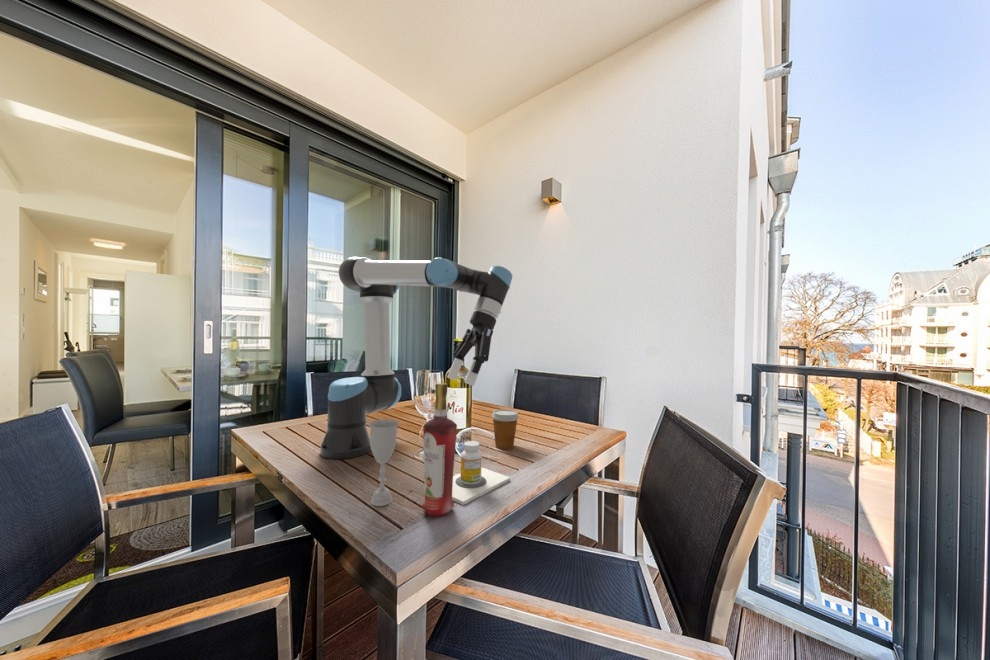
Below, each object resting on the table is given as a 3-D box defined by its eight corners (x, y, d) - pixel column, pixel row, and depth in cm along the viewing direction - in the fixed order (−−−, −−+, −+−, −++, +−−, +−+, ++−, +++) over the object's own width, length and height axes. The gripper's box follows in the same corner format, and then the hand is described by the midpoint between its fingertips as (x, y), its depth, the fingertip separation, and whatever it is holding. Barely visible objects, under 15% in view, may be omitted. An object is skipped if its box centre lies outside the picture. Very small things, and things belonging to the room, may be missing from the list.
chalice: (402, 501, 79) (404, 423, 79) (374, 511, 74) (376, 428, 75) (388, 490, 84) (390, 417, 85) (360, 499, 80) (363, 422, 80)
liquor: (413, 512, 74) (417, 384, 75) (437, 499, 80) (440, 380, 81) (438, 524, 70) (442, 387, 70) (461, 509, 76) (464, 383, 77)
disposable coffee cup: (515, 452, 114) (516, 416, 114) (488, 449, 116) (489, 414, 116) (519, 443, 124) (520, 410, 124) (493, 441, 126) (494, 408, 126)
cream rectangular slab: (477, 468, 100) (477, 465, 100) (510, 480, 92) (510, 476, 92) (428, 489, 86) (429, 485, 86) (463, 505, 78) (463, 500, 78)
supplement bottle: (463, 475, 92) (464, 439, 92) (483, 477, 91) (484, 441, 91) (457, 484, 87) (459, 445, 87) (478, 486, 86) (479, 447, 86)
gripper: (516, 318, 93) (489, 391, 89) (478, 322, 116) (455, 381, 111) (494, 306, 90) (465, 381, 86) (459, 312, 112) (434, 373, 108)
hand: (459, 381), depth 98 cm, fingers open, 13 cm apart
